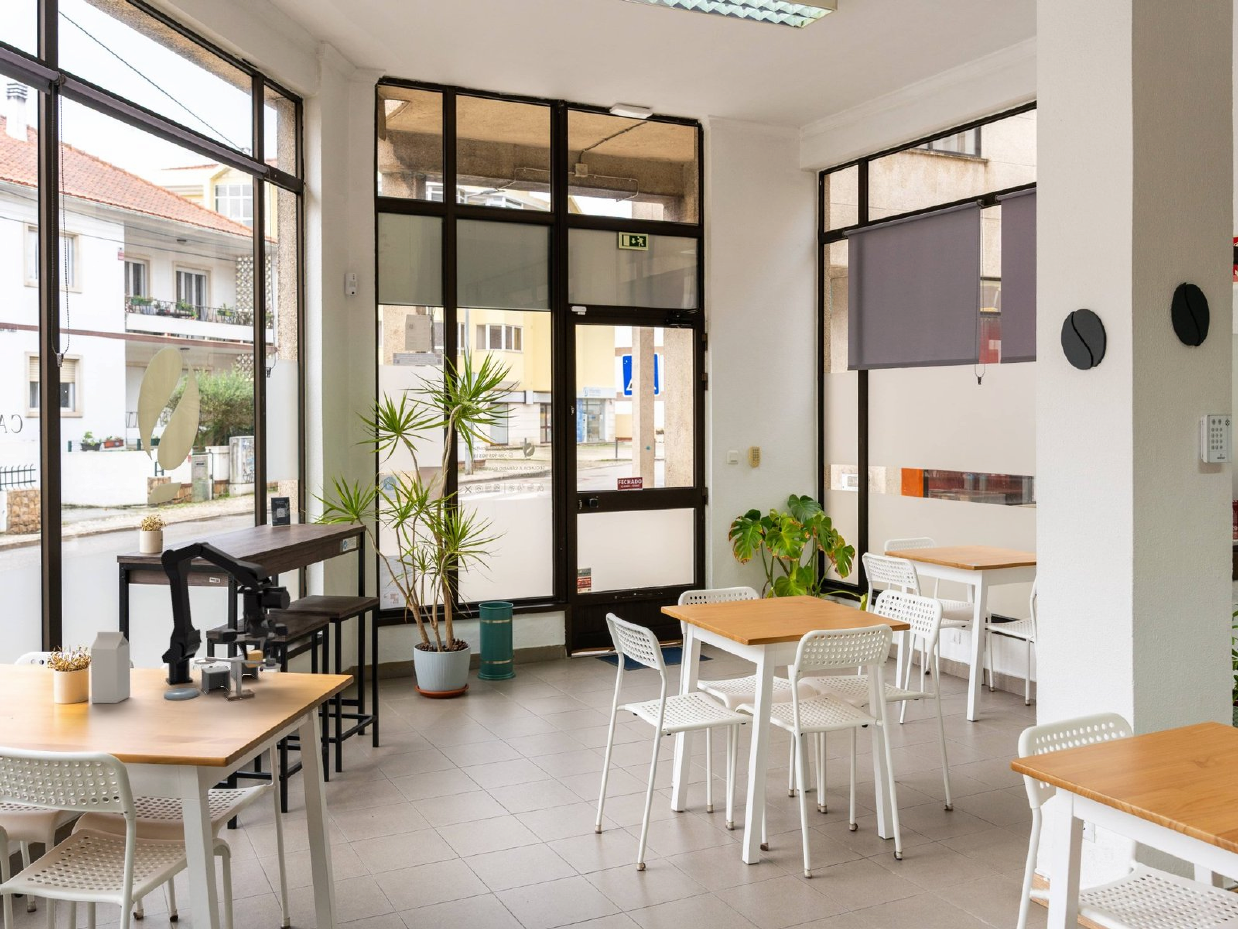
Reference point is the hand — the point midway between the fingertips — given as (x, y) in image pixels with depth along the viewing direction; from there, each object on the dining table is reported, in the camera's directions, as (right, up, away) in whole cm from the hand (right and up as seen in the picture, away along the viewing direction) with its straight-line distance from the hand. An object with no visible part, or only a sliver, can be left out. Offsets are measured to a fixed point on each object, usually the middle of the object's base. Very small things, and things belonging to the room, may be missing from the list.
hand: (254, 661), depth 293 cm
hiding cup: (-6, -7, +8) cm, 12 cm away
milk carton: (-33, -7, -17) cm, 38 cm away
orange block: (0, -1, 0) cm, 1 cm away
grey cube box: (-9, -7, -6) cm, 13 cm away
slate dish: (-16, -7, -12) cm, 21 cm away
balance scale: (0, -7, -13) cm, 15 cm away
